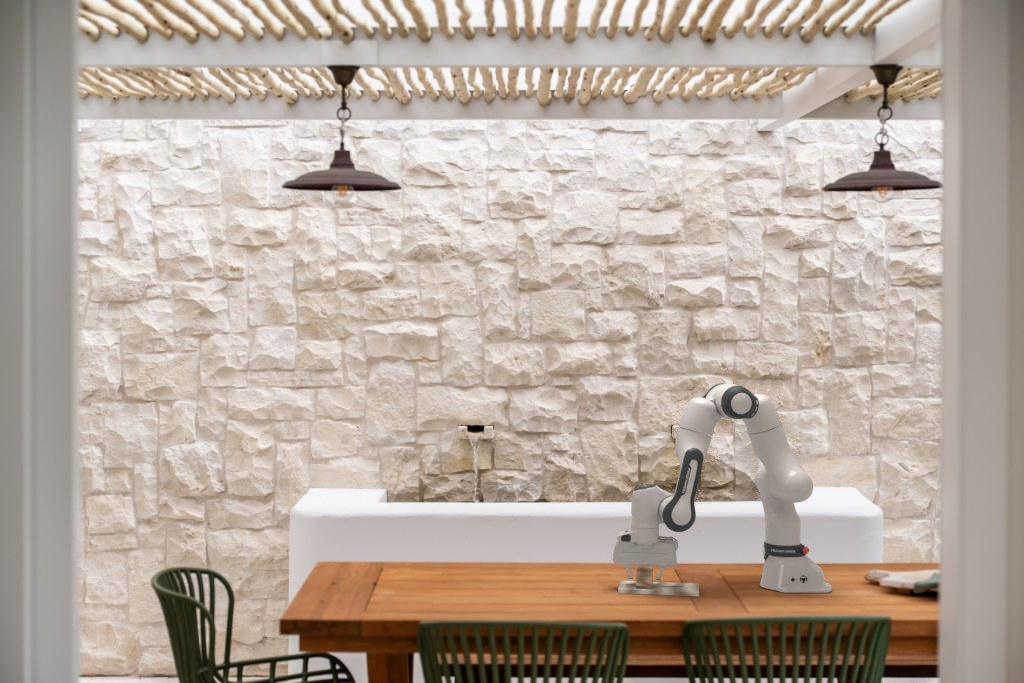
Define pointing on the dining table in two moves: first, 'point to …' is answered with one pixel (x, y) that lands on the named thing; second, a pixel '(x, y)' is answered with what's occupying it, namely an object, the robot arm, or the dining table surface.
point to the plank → (660, 588)
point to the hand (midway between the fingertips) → (644, 579)
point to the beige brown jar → (644, 577)
